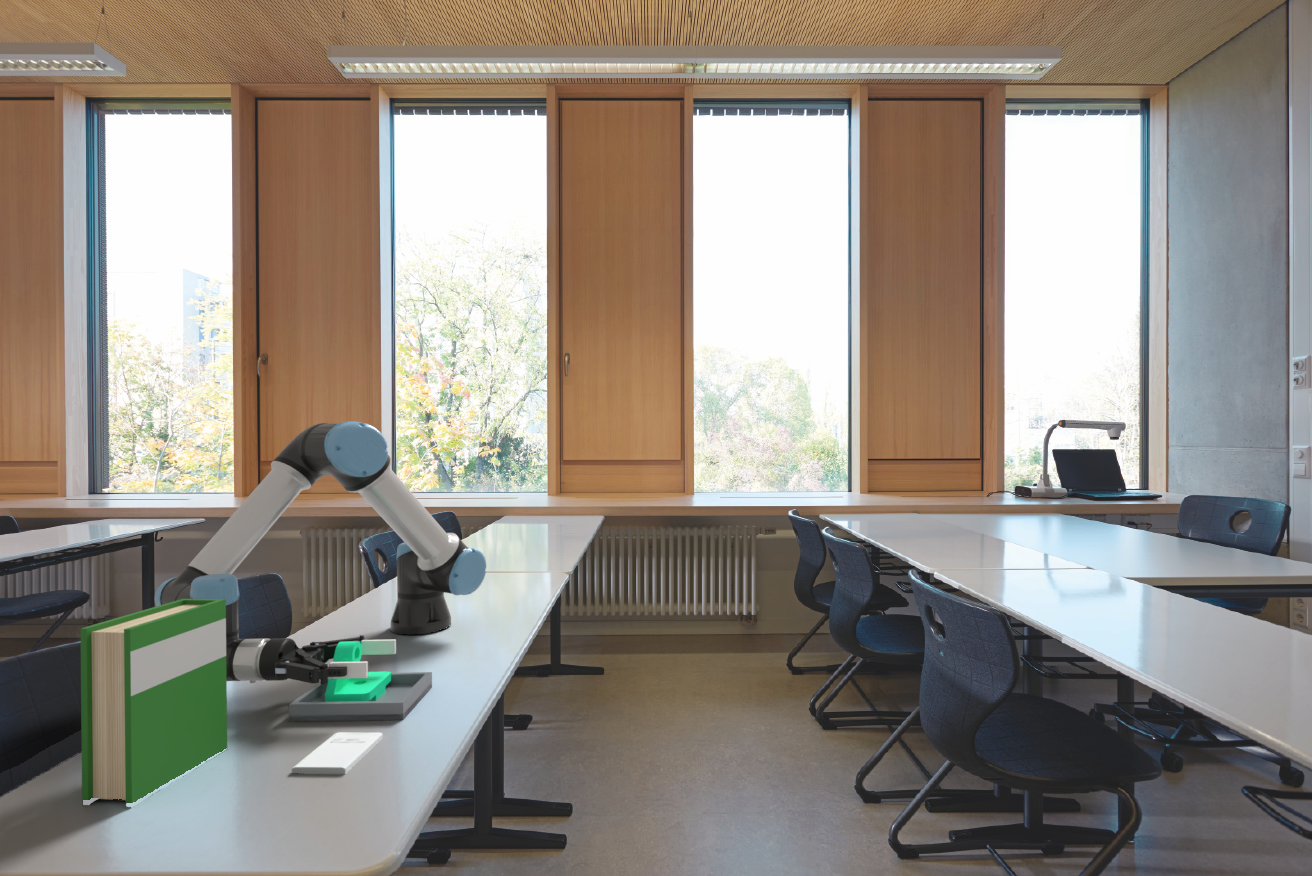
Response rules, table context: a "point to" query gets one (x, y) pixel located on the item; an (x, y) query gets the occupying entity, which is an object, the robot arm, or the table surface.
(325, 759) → the external hard drive
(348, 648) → the green mounting bracket
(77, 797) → the table surface
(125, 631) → the hardback book
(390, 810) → the table surface
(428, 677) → the tray
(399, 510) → the robot arm
